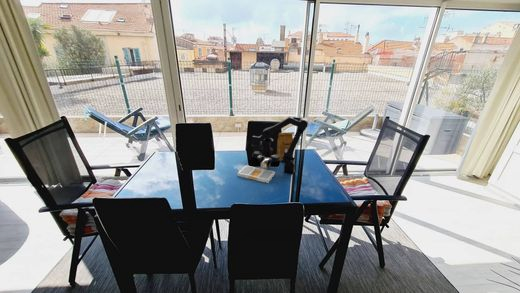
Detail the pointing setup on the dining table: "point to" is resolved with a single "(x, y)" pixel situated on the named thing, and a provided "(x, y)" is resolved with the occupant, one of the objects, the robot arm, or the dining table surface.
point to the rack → (256, 173)
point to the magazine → (258, 149)
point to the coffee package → (284, 143)
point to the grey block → (264, 164)
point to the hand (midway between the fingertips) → (265, 167)
